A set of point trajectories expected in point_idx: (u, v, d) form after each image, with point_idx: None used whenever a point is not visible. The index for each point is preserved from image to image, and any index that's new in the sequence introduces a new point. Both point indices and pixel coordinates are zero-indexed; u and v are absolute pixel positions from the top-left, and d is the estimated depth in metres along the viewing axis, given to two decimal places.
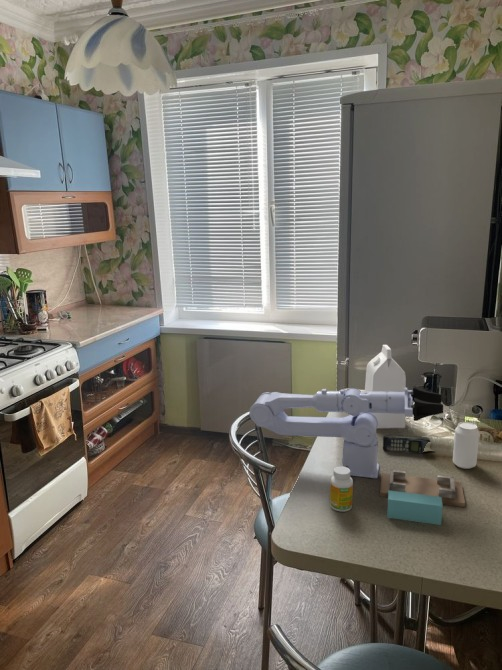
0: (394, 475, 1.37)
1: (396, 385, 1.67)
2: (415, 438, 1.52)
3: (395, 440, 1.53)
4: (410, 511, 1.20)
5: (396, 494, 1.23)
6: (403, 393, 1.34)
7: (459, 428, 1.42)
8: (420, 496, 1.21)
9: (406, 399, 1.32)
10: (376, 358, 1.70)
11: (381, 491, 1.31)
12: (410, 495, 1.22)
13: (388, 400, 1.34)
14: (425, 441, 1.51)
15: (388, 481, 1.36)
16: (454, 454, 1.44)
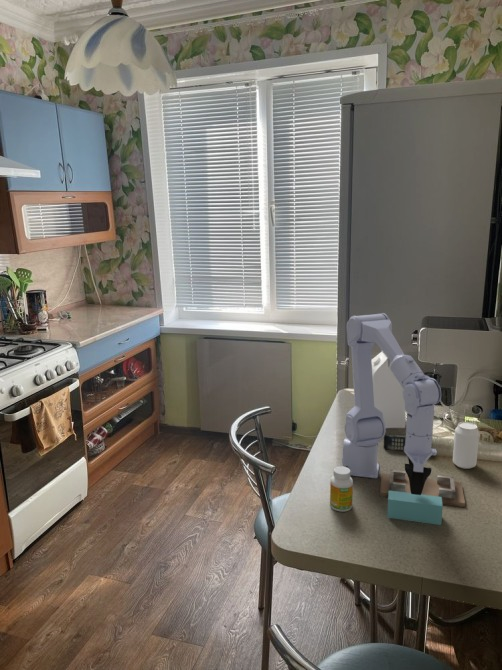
0: (394, 475, 1.37)
1: (396, 385, 1.67)
2: None
3: (396, 439, 1.54)
4: (410, 512, 1.20)
5: (396, 494, 1.23)
6: (431, 450, 1.17)
7: (459, 428, 1.42)
8: (421, 496, 1.21)
9: (428, 458, 1.14)
10: (376, 358, 1.70)
11: (381, 491, 1.31)
12: (410, 495, 1.22)
13: (426, 437, 1.14)
14: None
15: (388, 481, 1.36)
16: (454, 454, 1.44)
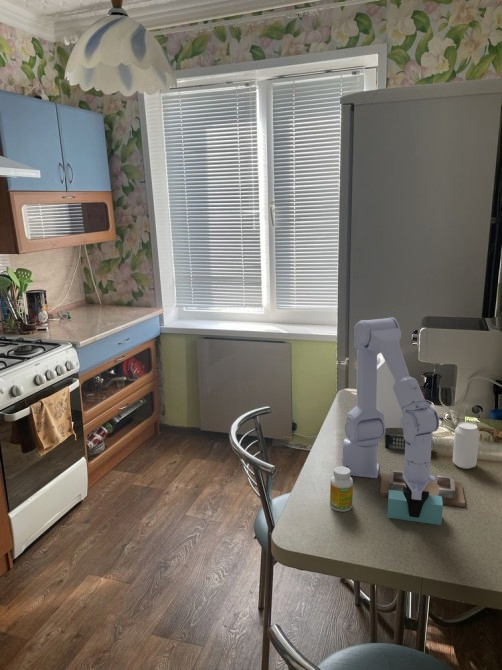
0: (394, 475, 1.37)
1: None
2: None
3: (397, 438, 1.54)
4: None
5: (396, 493, 1.23)
6: (429, 477, 1.18)
7: (459, 428, 1.42)
8: None
9: (426, 485, 1.16)
10: None
11: (381, 491, 1.31)
12: None
13: (424, 465, 1.16)
14: None
15: (388, 481, 1.36)
16: (454, 454, 1.44)
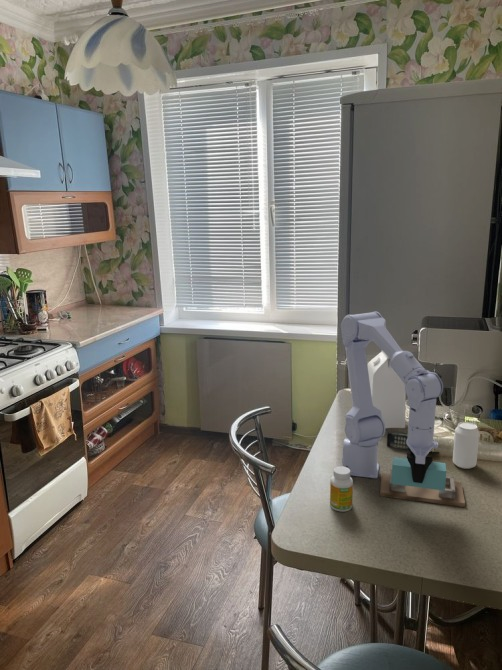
0: None
1: (396, 385, 1.67)
2: None
3: (398, 437, 1.55)
4: None
5: (400, 460, 1.24)
6: (432, 443, 1.20)
7: (459, 428, 1.42)
8: None
9: (429, 450, 1.18)
10: (376, 358, 1.70)
11: (381, 491, 1.31)
12: None
13: (428, 430, 1.17)
14: None
15: (388, 481, 1.36)
16: (454, 454, 1.44)
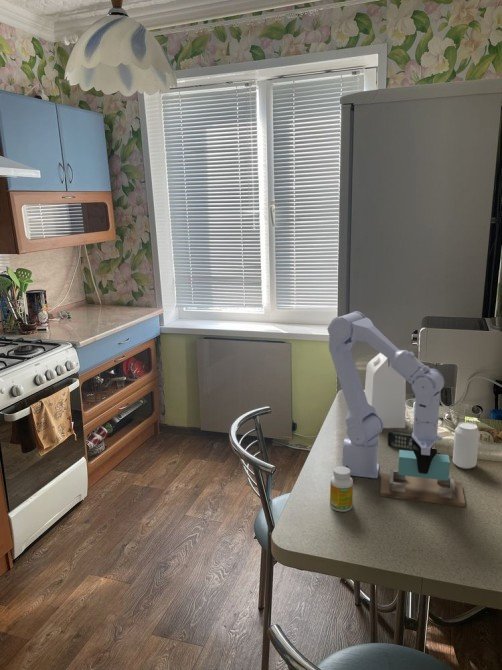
0: (394, 475, 1.37)
1: (396, 385, 1.67)
2: None
3: (399, 437, 1.55)
4: None
5: (406, 453, 1.32)
6: (436, 435, 1.28)
7: (459, 428, 1.42)
8: None
9: (434, 442, 1.26)
10: (376, 358, 1.70)
11: (381, 491, 1.31)
12: None
13: (432, 424, 1.25)
14: None
15: (388, 481, 1.36)
16: (454, 454, 1.44)
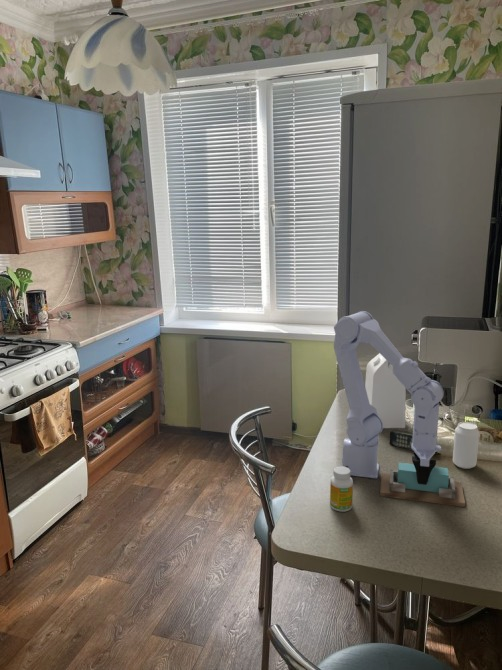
0: (394, 475, 1.37)
1: (396, 385, 1.67)
2: None
3: (400, 436, 1.56)
4: None
5: (405, 465, 1.33)
6: (435, 446, 1.28)
7: (459, 428, 1.42)
8: None
9: (433, 454, 1.26)
10: (376, 358, 1.70)
11: (381, 491, 1.31)
12: None
13: (431, 435, 1.26)
14: None
15: (388, 481, 1.36)
16: (454, 454, 1.44)
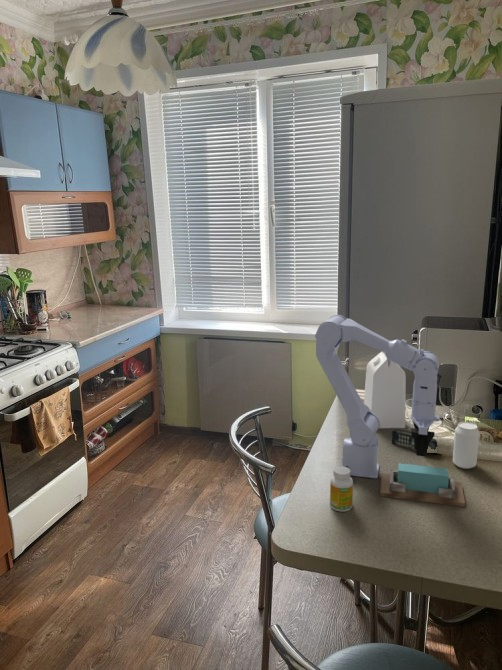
0: (394, 475, 1.37)
1: (396, 385, 1.67)
2: None
3: (402, 436, 1.56)
4: (418, 482, 1.30)
5: (405, 466, 1.33)
6: (434, 416, 1.31)
7: (459, 428, 1.42)
8: (428, 468, 1.32)
9: (431, 423, 1.29)
10: (376, 358, 1.70)
11: (381, 491, 1.31)
12: (418, 467, 1.32)
13: (430, 405, 1.29)
14: (430, 442, 1.51)
15: (388, 481, 1.36)
16: (454, 454, 1.44)
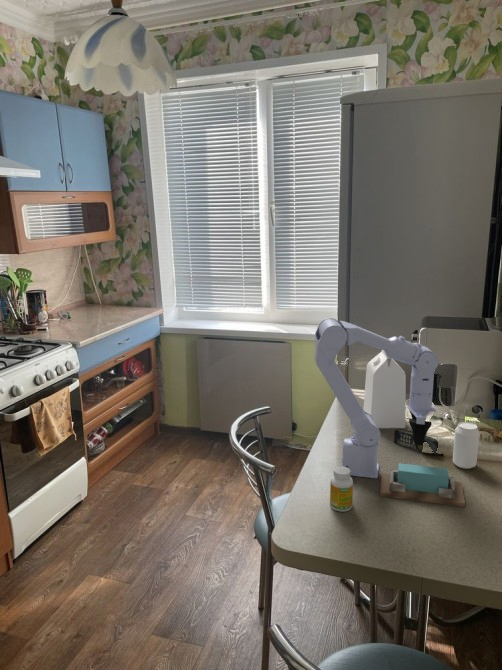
0: (394, 475, 1.37)
1: (396, 385, 1.67)
2: None
3: (404, 435, 1.56)
4: (418, 482, 1.30)
5: (405, 466, 1.33)
6: (431, 407, 1.37)
7: (459, 428, 1.42)
8: (428, 468, 1.32)
9: (428, 413, 1.35)
10: (376, 358, 1.70)
11: (381, 491, 1.31)
12: (418, 467, 1.32)
13: (427, 396, 1.35)
14: (431, 442, 1.51)
15: (388, 481, 1.36)
16: (454, 454, 1.44)
